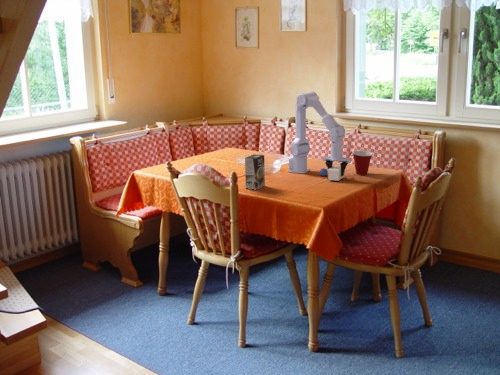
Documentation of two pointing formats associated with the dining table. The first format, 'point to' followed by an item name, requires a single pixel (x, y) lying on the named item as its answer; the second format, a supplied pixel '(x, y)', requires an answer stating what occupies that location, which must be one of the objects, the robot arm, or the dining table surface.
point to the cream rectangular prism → (335, 173)
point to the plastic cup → (362, 161)
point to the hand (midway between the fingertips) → (336, 175)
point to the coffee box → (254, 171)
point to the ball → (323, 172)
